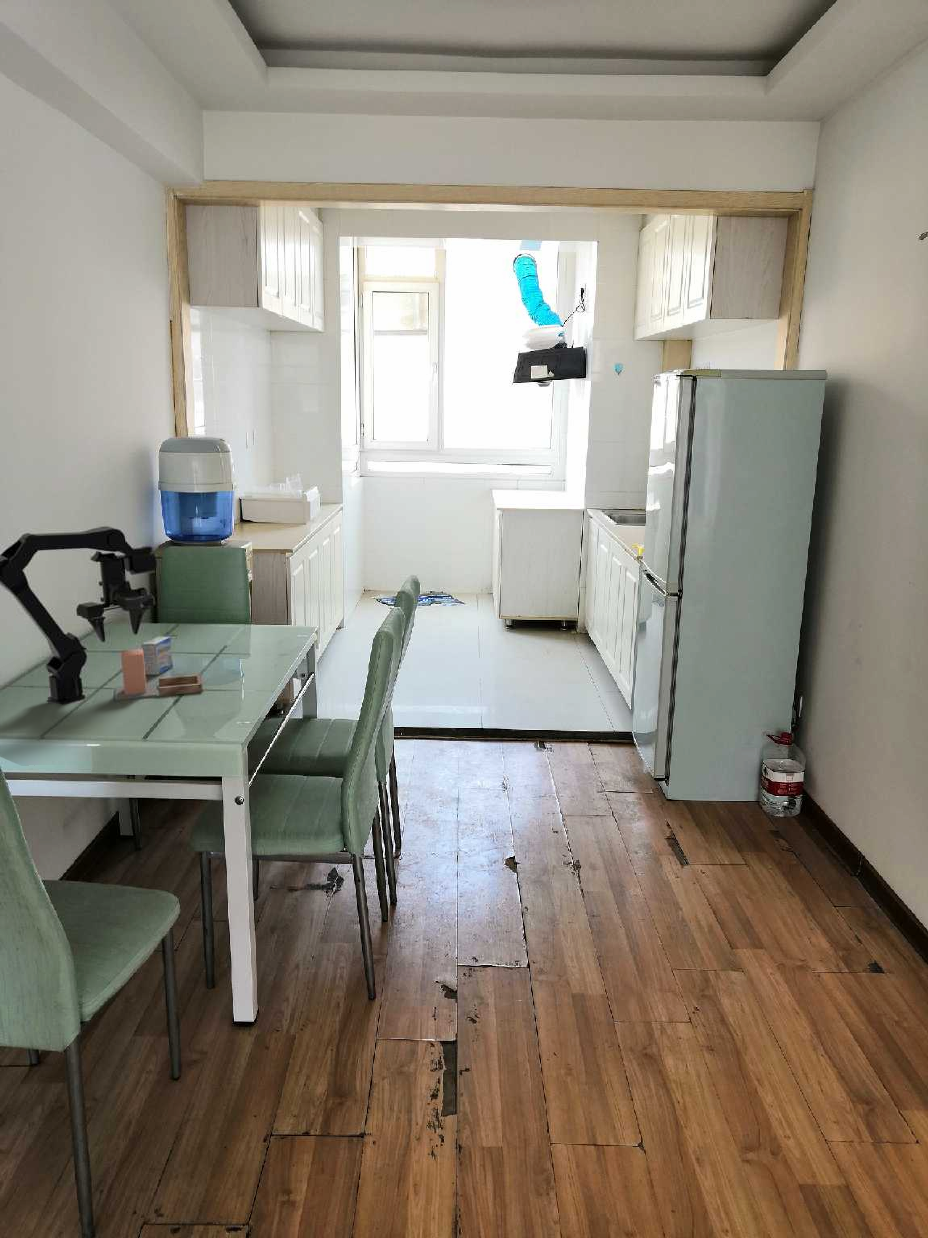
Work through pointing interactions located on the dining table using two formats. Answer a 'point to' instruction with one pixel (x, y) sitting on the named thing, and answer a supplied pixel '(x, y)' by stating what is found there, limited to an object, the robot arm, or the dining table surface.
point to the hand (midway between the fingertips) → (119, 638)
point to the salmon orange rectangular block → (133, 671)
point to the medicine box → (157, 655)
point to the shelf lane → (180, 688)
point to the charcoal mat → (150, 692)
